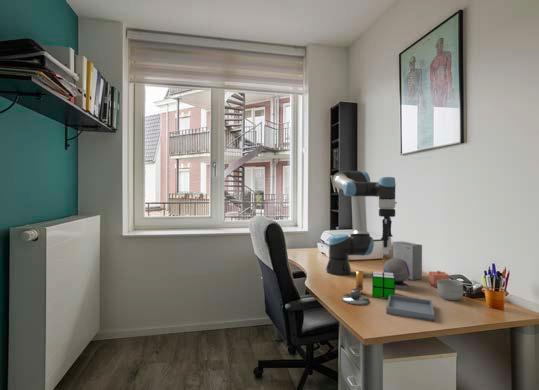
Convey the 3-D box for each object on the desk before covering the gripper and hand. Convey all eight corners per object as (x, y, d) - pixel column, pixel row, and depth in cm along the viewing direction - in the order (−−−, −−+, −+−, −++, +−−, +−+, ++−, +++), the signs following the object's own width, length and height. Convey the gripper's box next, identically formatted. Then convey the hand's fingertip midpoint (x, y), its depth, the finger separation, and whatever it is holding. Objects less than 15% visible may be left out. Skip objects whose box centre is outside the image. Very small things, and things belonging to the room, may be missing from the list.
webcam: (411, 290, 155) (412, 261, 155) (385, 288, 158) (385, 260, 158) (405, 283, 168) (406, 256, 168) (381, 281, 170) (381, 255, 170)
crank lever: (359, 299, 138) (359, 279, 138) (350, 297, 140) (350, 278, 140) (364, 289, 152) (364, 271, 152) (355, 288, 154) (356, 270, 154)
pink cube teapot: (436, 290, 156) (436, 274, 156) (427, 283, 168) (427, 268, 168) (452, 290, 155) (452, 274, 155) (442, 283, 167) (442, 268, 167)
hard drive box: (422, 279, 176) (422, 244, 175) (412, 280, 173) (412, 245, 173) (401, 272, 190) (402, 240, 190) (392, 273, 187) (392, 241, 187)
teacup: (454, 304, 137) (454, 286, 137) (431, 296, 146) (431, 280, 146) (471, 299, 143) (472, 282, 143) (449, 292, 153) (449, 276, 153)
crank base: (344, 294, 149) (344, 292, 149) (370, 298, 144) (370, 295, 144) (339, 302, 138) (339, 299, 138) (367, 306, 133) (367, 304, 133)
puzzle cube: (393, 292, 152) (393, 272, 152) (394, 299, 142) (395, 278, 142) (372, 290, 155) (372, 271, 155) (372, 296, 146) (372, 276, 145)
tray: (389, 299, 142) (389, 294, 142) (431, 306, 134) (431, 300, 134) (386, 313, 126) (386, 307, 126) (434, 321, 118) (434, 314, 118)
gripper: (393, 209, 136) (393, 256, 136) (396, 207, 158) (396, 248, 158) (375, 209, 139) (375, 255, 139) (381, 207, 161) (381, 247, 161)
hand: (386, 251), depth 148 cm, fingers open, 13 cm apart
